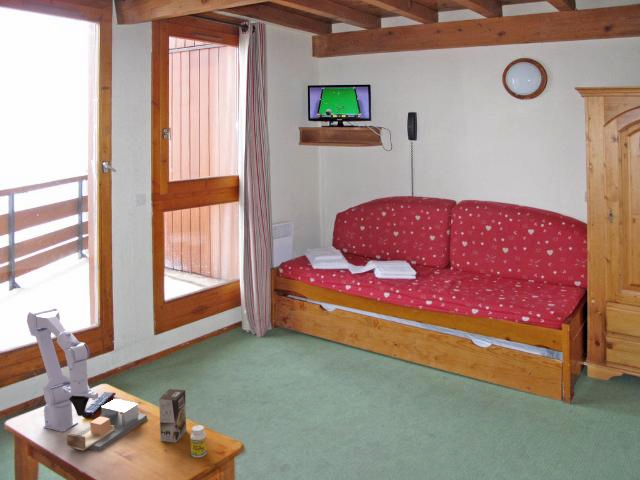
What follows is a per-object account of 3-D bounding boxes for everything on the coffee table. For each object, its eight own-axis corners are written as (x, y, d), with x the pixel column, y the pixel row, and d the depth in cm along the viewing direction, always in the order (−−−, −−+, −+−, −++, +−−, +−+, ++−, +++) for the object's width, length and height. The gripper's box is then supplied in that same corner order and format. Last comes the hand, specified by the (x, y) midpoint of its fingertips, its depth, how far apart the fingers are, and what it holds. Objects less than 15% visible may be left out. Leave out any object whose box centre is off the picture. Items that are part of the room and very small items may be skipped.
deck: (70, 443, 228) (69, 439, 228) (119, 412, 252) (119, 408, 251) (99, 451, 223) (99, 446, 223) (147, 418, 247) (146, 415, 247)
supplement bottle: (206, 449, 225) (205, 423, 224) (207, 457, 220) (206, 430, 218) (190, 450, 224) (189, 425, 222) (191, 458, 219) (190, 432, 217)
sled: (67, 446, 223) (66, 434, 222) (99, 426, 237) (98, 414, 236) (83, 450, 220) (82, 438, 219) (114, 430, 234) (113, 418, 233)
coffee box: (177, 443, 229) (175, 400, 226) (159, 441, 230) (158, 398, 227) (187, 431, 238) (186, 389, 235) (170, 429, 239) (169, 388, 236)
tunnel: (102, 421, 241) (101, 406, 240) (115, 413, 248) (114, 398, 247) (125, 426, 237) (124, 412, 236) (138, 418, 244) (137, 403, 243)
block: (90, 432, 231) (90, 422, 231) (100, 426, 236) (99, 416, 235) (100, 435, 230) (100, 424, 229) (110, 428, 234) (109, 418, 233)
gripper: (103, 377, 227) (105, 413, 230) (70, 370, 233) (73, 406, 236) (89, 385, 221) (91, 422, 224) (56, 378, 227) (58, 414, 229)
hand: (81, 414), depth 229 cm, fingers closed
